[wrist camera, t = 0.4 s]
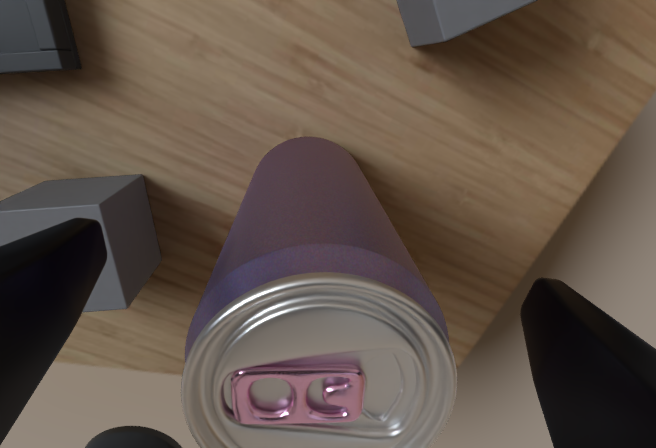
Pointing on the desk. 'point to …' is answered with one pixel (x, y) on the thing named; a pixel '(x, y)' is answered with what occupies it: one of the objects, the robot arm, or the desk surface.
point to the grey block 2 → (450, 17)
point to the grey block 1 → (116, 221)
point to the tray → (36, 37)
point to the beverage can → (316, 319)
